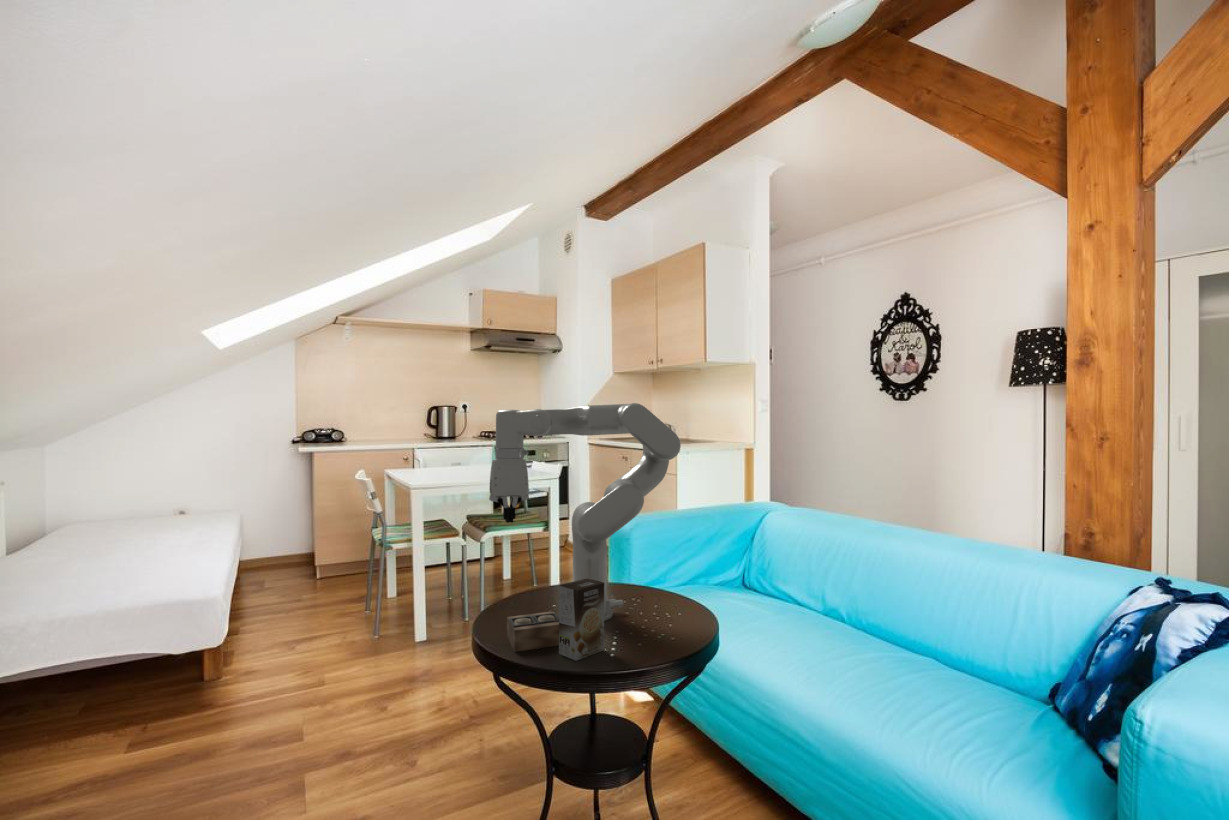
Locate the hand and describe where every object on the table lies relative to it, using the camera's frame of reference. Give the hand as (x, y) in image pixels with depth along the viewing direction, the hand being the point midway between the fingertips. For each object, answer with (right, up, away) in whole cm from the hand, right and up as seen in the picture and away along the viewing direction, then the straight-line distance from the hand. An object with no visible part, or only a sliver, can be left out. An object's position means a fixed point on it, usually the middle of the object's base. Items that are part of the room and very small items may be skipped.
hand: (509, 521), depth 155 cm
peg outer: (+6, -26, -15) cm, 31 cm away
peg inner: (+12, -26, -13) cm, 31 cm away
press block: (+9, -27, -14) cm, 32 cm away
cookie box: (+21, -27, -21) cm, 40 cm away
